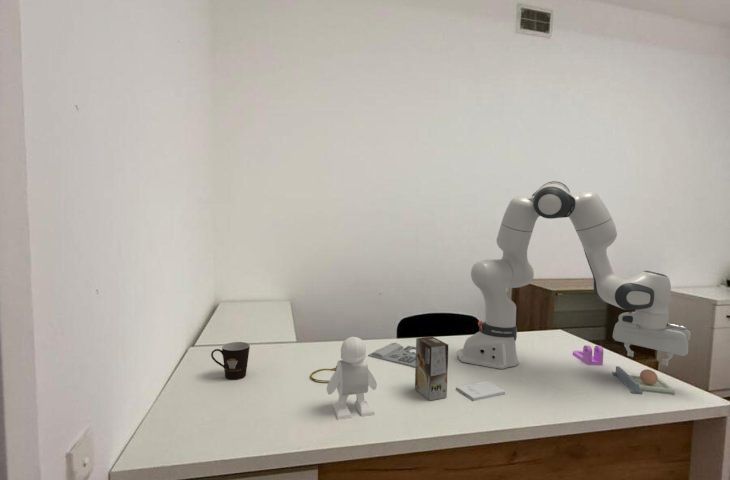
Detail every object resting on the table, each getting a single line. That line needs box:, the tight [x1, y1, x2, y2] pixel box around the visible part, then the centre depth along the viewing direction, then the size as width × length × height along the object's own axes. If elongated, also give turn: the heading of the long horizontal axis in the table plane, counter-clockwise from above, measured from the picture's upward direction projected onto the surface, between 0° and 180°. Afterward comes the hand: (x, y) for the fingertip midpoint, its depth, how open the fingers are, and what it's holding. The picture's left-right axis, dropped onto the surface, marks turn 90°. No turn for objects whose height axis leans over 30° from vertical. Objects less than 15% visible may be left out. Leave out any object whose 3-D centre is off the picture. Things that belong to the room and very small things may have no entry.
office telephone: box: [367, 342, 416, 369], centre depth 150 cm, size 23×3×20 cm
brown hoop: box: [309, 365, 337, 384], centre depth 128 cm, size 12×16×2 cm
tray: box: [628, 374, 675, 395], centre depth 127 cm, size 10×10×1 cm
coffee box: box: [414, 336, 449, 401], centre depth 116 cm, size 9×6×16 cm
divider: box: [611, 365, 643, 395], centre depth 128 cm, size 3×16×3 cm, turn 166°
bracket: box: [572, 344, 604, 366], centre depth 151 cm, size 13×6×7 cm, turn 179°
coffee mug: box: [210, 341, 251, 381], centre depth 125 cm, size 12×9×10 cm
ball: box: [639, 369, 659, 385], centre depth 127 cm, size 5×5×5 cm
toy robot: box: [326, 336, 377, 420], centre depth 105 cm, size 14×9×20 cm, turn 107°
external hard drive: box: [455, 380, 506, 402], centre depth 118 cm, size 2×8×12 cm
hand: (647, 360), depth 128 cm, fingers open, 8 cm apart
